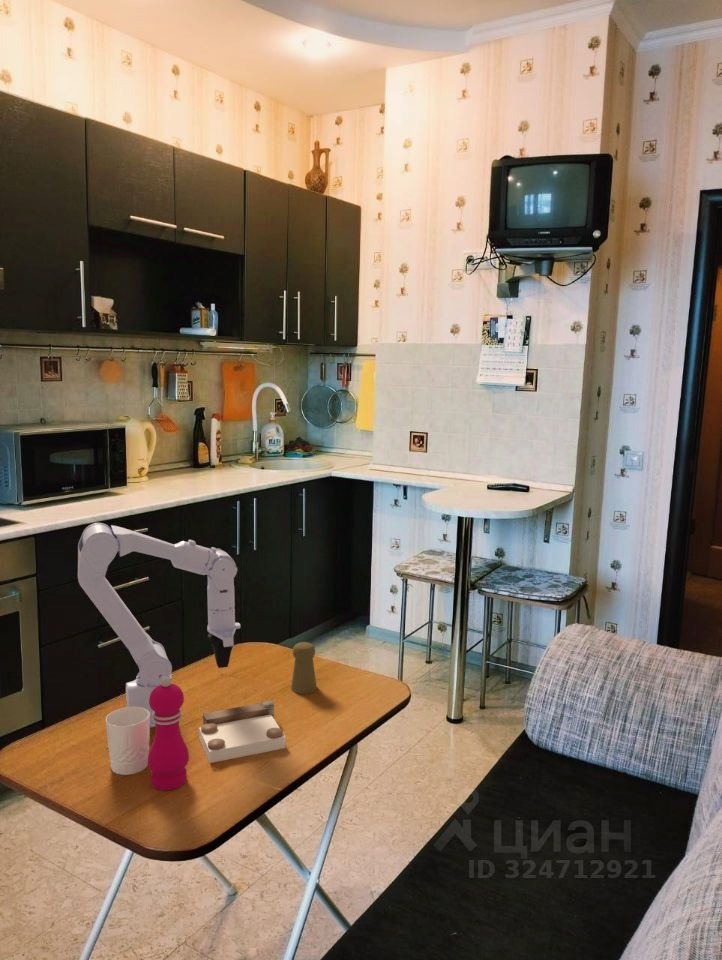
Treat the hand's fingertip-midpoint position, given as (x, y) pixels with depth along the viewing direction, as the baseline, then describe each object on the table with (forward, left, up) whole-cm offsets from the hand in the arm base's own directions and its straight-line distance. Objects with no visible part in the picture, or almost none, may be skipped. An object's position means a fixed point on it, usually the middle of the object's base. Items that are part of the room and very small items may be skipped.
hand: (222, 666), depth 163 cm
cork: (+19, +2, -10) cm, 22 cm away
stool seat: (0, -17, -10) cm, 19 cm away
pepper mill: (-16, -25, -10) cm, 31 cm away
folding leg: (+1, -10, -9) cm, 14 cm away
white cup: (-22, -17, -10) cm, 29 cm away
